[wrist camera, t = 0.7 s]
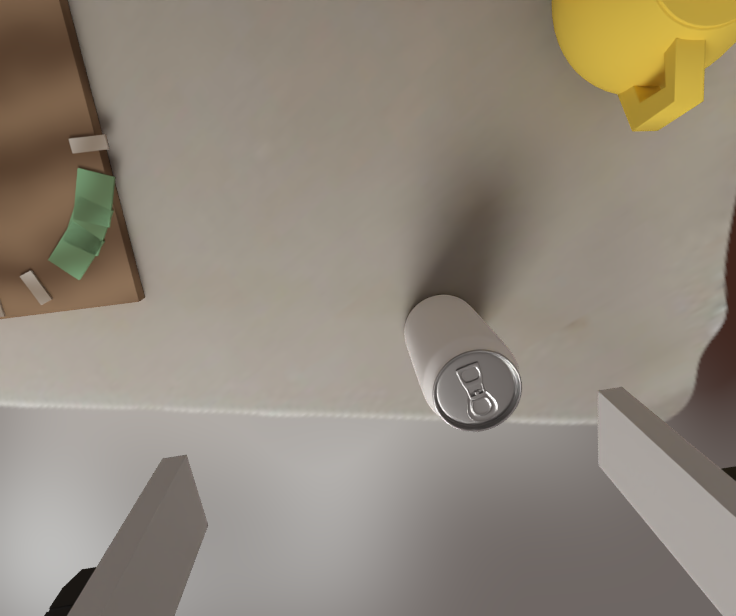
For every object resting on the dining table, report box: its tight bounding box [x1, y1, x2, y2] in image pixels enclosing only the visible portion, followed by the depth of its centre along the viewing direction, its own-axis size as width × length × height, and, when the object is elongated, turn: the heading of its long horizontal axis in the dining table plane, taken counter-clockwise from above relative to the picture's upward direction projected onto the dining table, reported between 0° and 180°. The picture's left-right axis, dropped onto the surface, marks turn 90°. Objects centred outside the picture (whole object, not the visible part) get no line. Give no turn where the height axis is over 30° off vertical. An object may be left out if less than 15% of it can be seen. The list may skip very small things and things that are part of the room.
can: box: [404, 295, 522, 432], centre depth 36 cm, size 6×6×12 cm
